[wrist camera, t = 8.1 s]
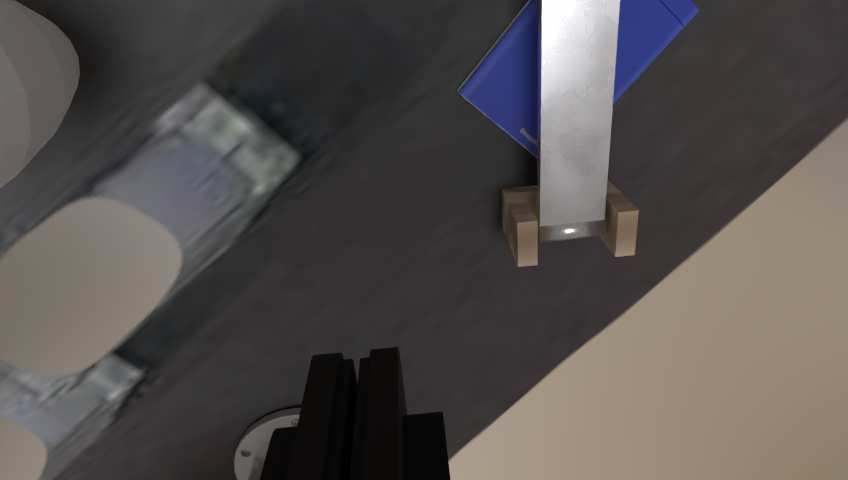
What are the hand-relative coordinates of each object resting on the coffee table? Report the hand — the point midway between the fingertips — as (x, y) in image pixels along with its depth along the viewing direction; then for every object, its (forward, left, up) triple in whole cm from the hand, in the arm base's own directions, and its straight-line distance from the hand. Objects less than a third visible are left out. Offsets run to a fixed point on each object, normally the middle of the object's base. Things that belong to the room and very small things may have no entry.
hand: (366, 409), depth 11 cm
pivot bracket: (-8, -11, -26) cm, 29 cm away
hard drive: (+2, -12, -27) cm, 30 cm away
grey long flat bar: (+1, -11, -23) cm, 25 cm away
